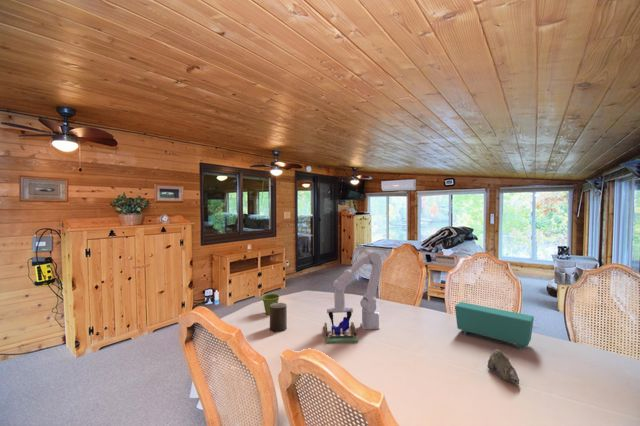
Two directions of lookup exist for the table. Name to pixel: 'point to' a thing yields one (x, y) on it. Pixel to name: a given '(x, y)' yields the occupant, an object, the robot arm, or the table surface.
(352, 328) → the guide rails
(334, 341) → the header board
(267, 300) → the plant pot
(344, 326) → the cable clip
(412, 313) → the table surface
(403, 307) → the table surface
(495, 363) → the mineral rock
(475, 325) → the radio
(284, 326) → the pillar candle
